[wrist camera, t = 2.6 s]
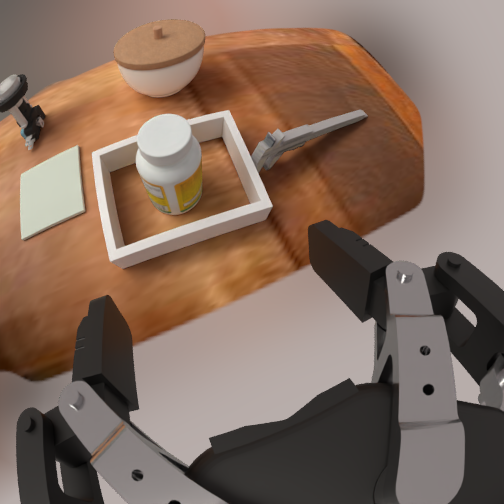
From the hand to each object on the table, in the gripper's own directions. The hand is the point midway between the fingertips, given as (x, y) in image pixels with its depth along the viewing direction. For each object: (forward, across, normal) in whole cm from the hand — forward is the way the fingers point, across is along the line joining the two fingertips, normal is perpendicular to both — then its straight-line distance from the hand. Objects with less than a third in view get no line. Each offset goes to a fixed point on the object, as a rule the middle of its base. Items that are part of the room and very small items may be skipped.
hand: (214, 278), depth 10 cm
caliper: (+21, -18, +1) cm, 27 cm away
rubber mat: (+23, +14, -2) cm, 27 cm away
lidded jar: (+31, -2, -9) cm, 32 cm away
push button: (+31, +17, -10) cm, 37 cm away
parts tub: (+19, 0, +2) cm, 19 cm away
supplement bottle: (+19, 0, +3) cm, 19 cm away
